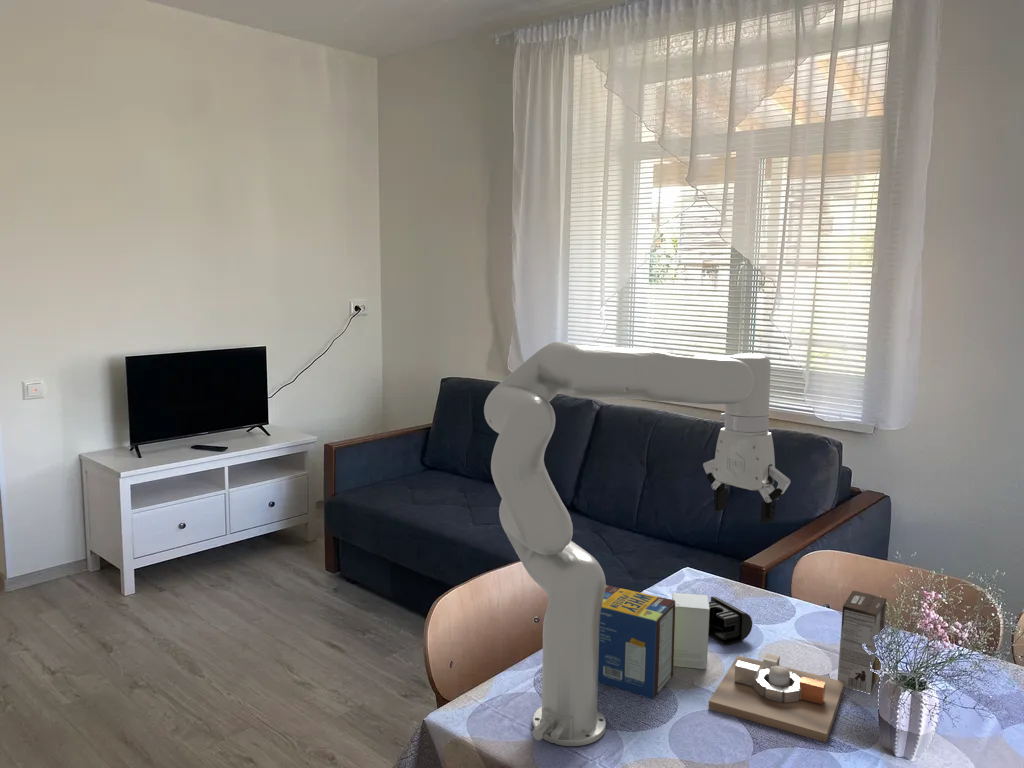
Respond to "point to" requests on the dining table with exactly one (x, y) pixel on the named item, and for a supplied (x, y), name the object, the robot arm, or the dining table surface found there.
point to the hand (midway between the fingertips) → (743, 515)
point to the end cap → (727, 623)
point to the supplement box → (691, 630)
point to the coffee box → (860, 640)
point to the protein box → (636, 641)
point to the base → (783, 716)
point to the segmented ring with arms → (794, 692)
